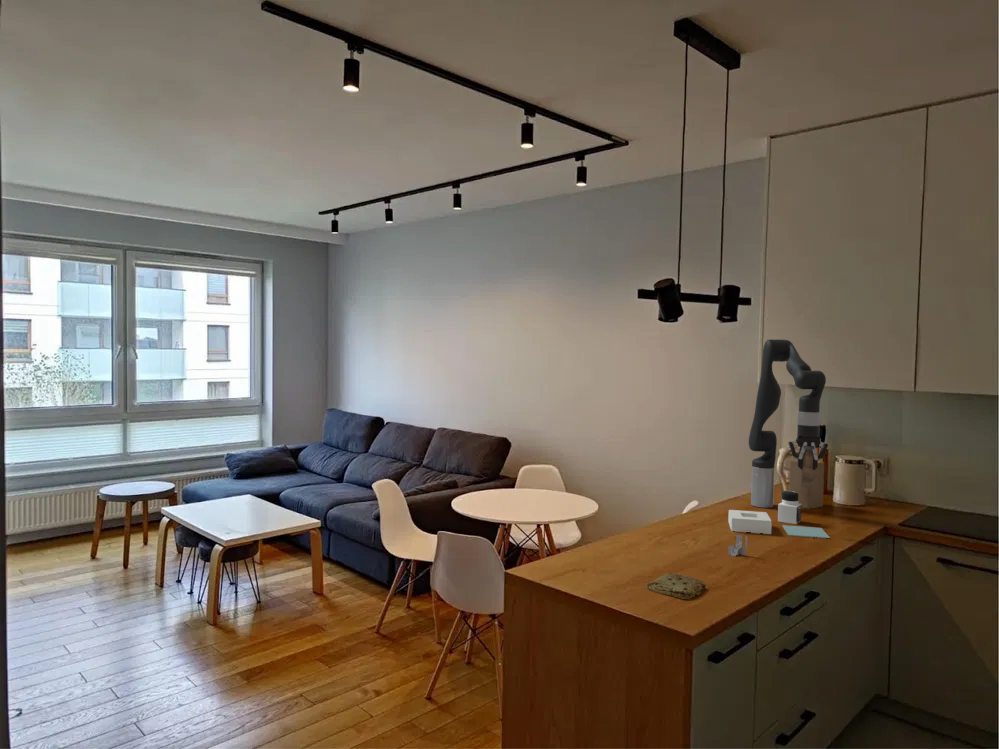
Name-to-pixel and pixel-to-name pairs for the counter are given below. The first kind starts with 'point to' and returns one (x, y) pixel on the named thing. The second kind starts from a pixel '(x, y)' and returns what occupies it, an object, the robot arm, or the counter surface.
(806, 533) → the mat
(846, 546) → the counter surface
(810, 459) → the pin
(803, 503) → the wooden block
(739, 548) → the grey upright blocky piece
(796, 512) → the medicine bottle
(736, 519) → the eye block
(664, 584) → the pastry
